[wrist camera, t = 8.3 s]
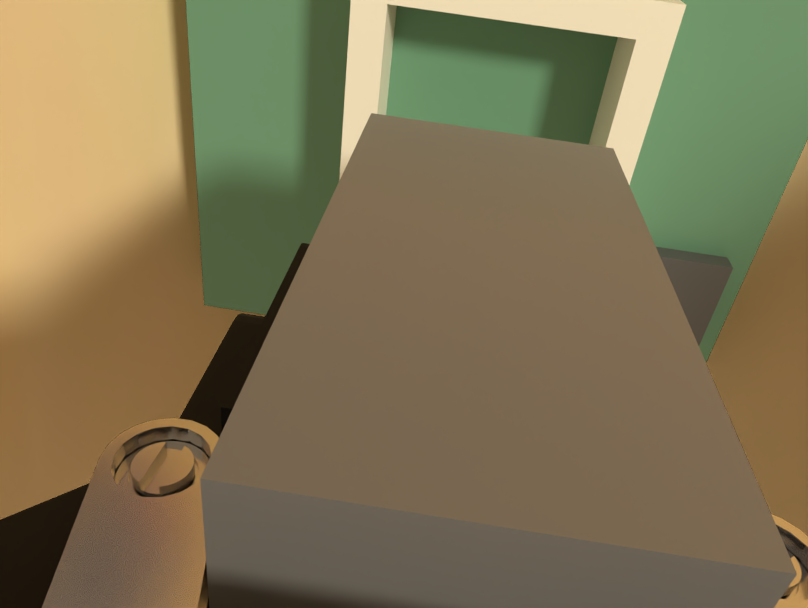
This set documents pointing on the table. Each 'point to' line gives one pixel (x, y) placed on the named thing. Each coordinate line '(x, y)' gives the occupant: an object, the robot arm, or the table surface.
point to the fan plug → (483, 402)
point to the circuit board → (499, 116)
